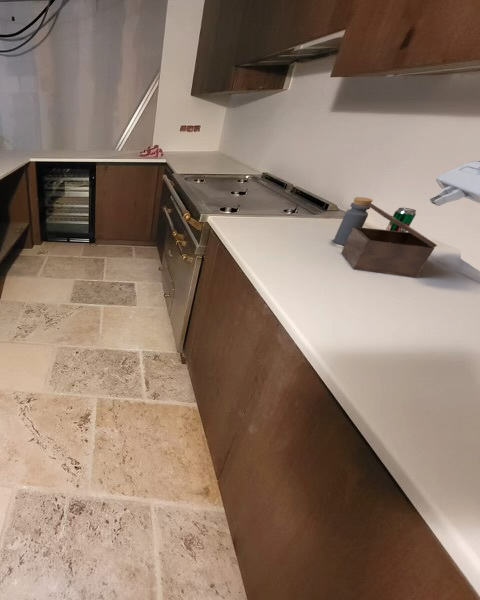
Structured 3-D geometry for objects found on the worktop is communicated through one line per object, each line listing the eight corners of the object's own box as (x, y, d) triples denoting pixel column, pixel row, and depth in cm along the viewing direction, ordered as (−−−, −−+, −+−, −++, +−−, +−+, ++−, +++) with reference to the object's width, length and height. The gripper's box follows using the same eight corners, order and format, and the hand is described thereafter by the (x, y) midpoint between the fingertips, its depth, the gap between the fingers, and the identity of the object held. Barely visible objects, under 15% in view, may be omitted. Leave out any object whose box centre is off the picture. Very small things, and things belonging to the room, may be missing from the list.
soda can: (380, 240, 113) (398, 206, 106) (398, 244, 110) (418, 209, 103) (377, 244, 110) (396, 209, 103) (397, 248, 107) (417, 212, 100)
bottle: (330, 242, 111) (350, 198, 103) (336, 238, 114) (355, 195, 106) (351, 247, 107) (372, 202, 99) (355, 243, 110) (377, 199, 102)
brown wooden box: (353, 269, 93) (367, 240, 89) (341, 253, 103) (353, 226, 99) (416, 277, 89) (434, 248, 84) (396, 259, 99) (412, 232, 94)
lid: (382, 216, 85) (385, 213, 84) (366, 204, 95) (368, 202, 94) (434, 247, 84) (437, 245, 84) (411, 232, 94) (414, 230, 94)
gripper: (475, 149, 84) (409, 185, 92) (535, 160, 68) (448, 202, 76) (486, 168, 85) (420, 202, 93) (548, 184, 69) (461, 223, 77)
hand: (433, 202), depth 85 cm, fingers closed
